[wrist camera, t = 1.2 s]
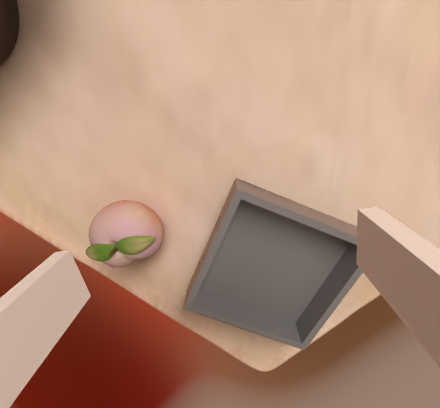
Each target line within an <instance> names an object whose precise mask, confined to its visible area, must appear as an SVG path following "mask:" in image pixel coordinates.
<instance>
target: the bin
mask: <svg viewBox="0 0 440 408" xmlns="http://www.w3.org/2000/svg"><path fill="white" fill-rule="evenodd" d="M356 261H357V227H356V226H353V225H351V224H349V223H346V222H344V221H341V220H339V219H336V218H334V217H331V216H329V215H326V214H324V213H321V212H319V211H316V210H314V209H311V208H309V207H307V206H304V205H302V204H299V203H297V202H294V201H292V200H289V199H287V198H284V197H282V196H279V195H277V194H274V193H272V192H269V191H267V190H265V189H262V188H260V187H257V186H255V185H252V184H250V183H247V182H245V181H242V180H240V179H237V178H236V179H235V182H234V184H233V186H232V188H231V191H230V193H229V195H228V197H227V200H226V202H225V204H224V207H223V209H222V211H221V213H220V216H219V218H218V220H217V223H216V225H215V227H214V229H213V232H212V234H211V236H210V238H209V241H208V243H207V245H206V248H205V250H204V252H203V254H202V257H201V259H200V261H199V263H198V266H197V268H196V270H195V273H194V275H193V277H192V279H191V282H190V284H189V286H188V290H187V295H186V299H185V303H184V307H183V309H186V310H189V311H192V312H195V313H197V314H200V315H203V316H206V317H209V318H212V319H215V320H218V321H221V322H224V323H227V324H230V325H232V326H235V327H238V328H241V329H244V330H247V331H250V332H253V333H256V334H259V335H262V336H264V337H267V338H270V339H273V340H276V341H279V342H282V343H285V344H288V345H291V346H294V347H297V348H299V349H302V350H305V349H306V348H307V346H308V345H309V344H310V342H311V341H312V340H313V338H314V337H315V336H316V334H317V333H318V332H319V330H320V329H321V328H322V326H323V325H324V324H325V322H326V321H327V320H328V318H329V317H330V316H331V314H332V313H333V312H334V310H335V309H336V308H337V306H338V305H339V303H340V302H341V301H342V299H343V298H344V297H345V295H346V294H347V293H348V291H349V290H350V289H351V287H352V286H353V285H354V283H355V282H356V281H357V279H358V278H359V277H360V275H361V274H362V273H363V271H362V270H361V269H360V268H359V266H358V265H357V264H356Z"/></svg>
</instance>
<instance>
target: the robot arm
mask: <svg viewBox="0 0 440 408" xmlns="http://www.w3.org/2000/svg"><path fill="white" fill-rule="evenodd" d="M17 33H18V7H17V1H16V0H0V64H1V63H2V62H3V61H5V59H6V58H7V57H8V56H9V54H10V53H11V51H12V49H13V47H14V44H15V41H16V38H17ZM356 264H357V265H358V266H359V268H360V269H361V270H362V271H363V273H364V274H365V275H366V276H367V277H368V279H369V280H370V281H371V282H372V284H373V285H374V286H375V287H376V289H377V290H378V291H379V292H380V294H381V295H382V296H383V297H384V299H385V300H386V301H387V302H388V304H389V305H390V306H391V307H392V309H393V310H394V311H395V312H396V313H397V314H398V316H399V317H400V319H401V320H402V321H403V322H404V323H405V325H406V326H407V327H408V328H409V330H410V331H411V332H412V333H413V335H414V336H415V337H416V338H417V340H418V341H419V342H420V343H421V344H422V346H423V347H424V348H425V350H426V351H427V352H428V353H429V355H430V356H431V357H432V358H433V360H434V361H435V362H436V363H437V365H438V366H439V367H440V249H438V248H437V247H435V246H434V245H432V244H431V243H429V242H428V241H426V240H425V239H424V238H422V237H421V236H419V235H418V234H416V233H415V232H413V231H412V230H410V229H409V228H407V227H406V226H405V225H403V224H402V223H400V222H399V221H397V220H396V219H394V218H393V217H391V216H390V215H388V214H387V213H386V212H384V211H383V210H381V209H380V208H378V207H370V208H363V209H358V222H357V261H356ZM89 298H90V293H89V291H88V289H87V287H86V285H85V283H84V280H83V278H82V276H81V274H80V272H79V269H78V267H77V265H76V263H75V261H74V259H73V256H72V254H71V252H70V250H68V251H61V252H55V253H54V254H53V255H51V256H50V257H49V258H48V259H47V260H45V261H44V262H43V263H42V264H40V265H39V266H38V267H37V268H36V269H34V270H33V271H32V272H31V273H30V274H28V275H27V276H26V277H25V278H24V279H23V280H21V281H20V282H19V283H18V284H17V285H15V286H14V287H13V288H12V289H11V290H9V291H8V292H7V293H6V294H5V295H3V296H2V297H1V298H0V408H9V407H10V406H11V405H12V403H13V402H14V400H15V399H16V398H17V396H18V395H19V394H20V392H21V391H22V390H23V388H24V387H25V385H26V384H27V383H28V381H29V380H30V378H31V377H32V376H33V374H34V373H35V372H36V370H37V369H38V368H39V366H40V365H41V363H42V362H43V361H44V359H45V358H46V357H47V355H48V354H49V352H50V351H51V350H52V348H53V347H54V346H55V344H56V343H57V342H58V340H59V339H60V337H61V336H62V335H63V333H64V332H65V331H66V329H67V328H68V327H69V325H70V324H71V322H72V321H73V320H74V318H75V317H76V316H77V314H78V313H79V311H80V310H81V309H82V307H83V306H84V305H85V303H86V302H87V301H88V299H89Z"/></svg>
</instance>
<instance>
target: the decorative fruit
mask: <svg viewBox="0 0 440 408" xmlns="http://www.w3.org/2000/svg"><path fill="white" fill-rule="evenodd" d="M163 235H164V230H163V225H162V222H161V220H160V218H159V217H158V215H157V214H156V213H155V212H154V211H153V210H151V209H150V208H149V207H147V206H146V205H144V204H141V203H139V202H135V201H129V200H123V201H117V202H114V203H112V204H110V205H108V206H106V207H104V208H103V209H102V210H101V211H100V212H99V213H98V214H97V215H96V216H95V217H94V219H93V221H92V222H91V225H90V228H89V239H90V243H91V246H90V247H88V248H87V250H86V255H87V256H88V257H89V258H91V259H93V260H96V261H102V262H103V263H105V264H107V265H109V266H112V267H124V266H127V265H129V264H131V263H133V262H134V261H135V260H136V259H143V258H146V257H149V256H151V255H153V254H154V253H155V252H156V251H157V250H158V249H159V247H160V246H161V244H162V241H163Z"/></svg>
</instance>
